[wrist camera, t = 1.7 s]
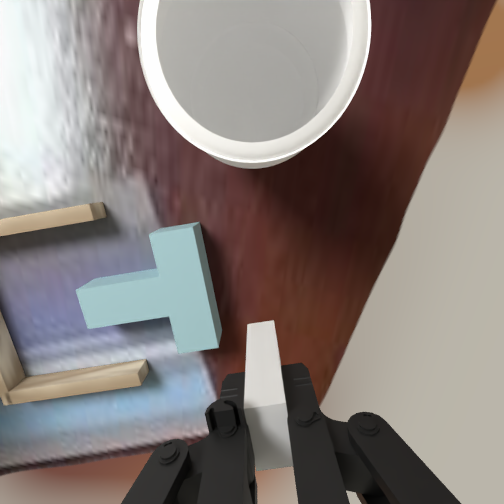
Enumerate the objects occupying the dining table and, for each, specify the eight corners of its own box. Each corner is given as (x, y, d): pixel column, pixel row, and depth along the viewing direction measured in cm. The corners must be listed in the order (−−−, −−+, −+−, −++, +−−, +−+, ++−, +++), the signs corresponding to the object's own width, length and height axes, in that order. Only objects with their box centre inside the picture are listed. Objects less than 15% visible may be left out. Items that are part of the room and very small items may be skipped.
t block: (83, 241, 31) (62, 248, 27) (199, 221, 30) (192, 227, 27) (115, 346, 33) (99, 365, 30) (222, 330, 33) (218, 347, 29)
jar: (281, 189, 29) (310, 196, 15) (181, 146, 28) (105, 108, 14) (329, 78, 27) (419, -45, 12) (222, 28, 26) (183, -167, 12)
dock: (-42, 227, 30) (-68, 231, 28) (102, 202, 30) (89, 203, 27) (21, 389, 34) (4, 405, 32) (149, 370, 34) (141, 385, 31)
